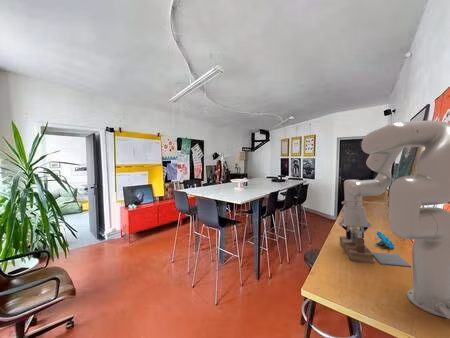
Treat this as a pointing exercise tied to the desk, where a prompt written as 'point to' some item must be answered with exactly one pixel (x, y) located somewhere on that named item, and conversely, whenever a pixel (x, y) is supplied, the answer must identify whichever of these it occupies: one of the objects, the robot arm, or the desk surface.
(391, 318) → the desk surface
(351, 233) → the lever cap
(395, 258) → the mat
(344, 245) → the brown stepped block
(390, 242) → the blue bumpy piece
